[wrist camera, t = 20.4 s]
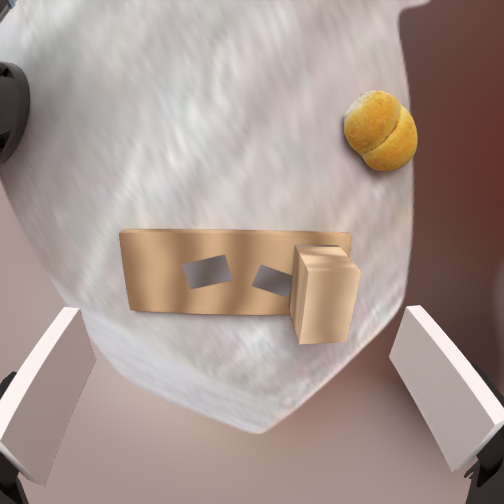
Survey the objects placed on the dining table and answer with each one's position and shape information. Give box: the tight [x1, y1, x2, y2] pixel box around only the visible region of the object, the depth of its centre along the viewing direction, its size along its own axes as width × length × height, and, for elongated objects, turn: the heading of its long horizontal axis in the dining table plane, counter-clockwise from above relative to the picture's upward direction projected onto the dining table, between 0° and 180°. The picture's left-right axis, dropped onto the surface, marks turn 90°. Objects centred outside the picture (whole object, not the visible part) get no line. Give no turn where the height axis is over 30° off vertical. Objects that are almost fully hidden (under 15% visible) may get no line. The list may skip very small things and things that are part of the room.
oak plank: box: [119, 229, 352, 315], centre depth 35 cm, size 26×10×2 cm, turn 88°
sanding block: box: [289, 244, 361, 344], centre depth 31 cm, size 5×8×7 cm, turn 178°
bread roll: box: [343, 90, 417, 171], centre depth 28 cm, size 8×9×4 cm
